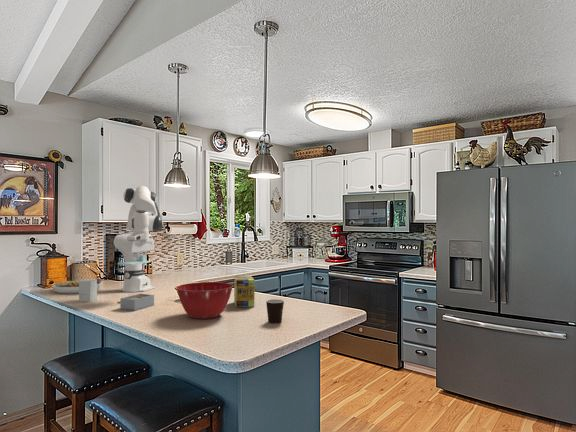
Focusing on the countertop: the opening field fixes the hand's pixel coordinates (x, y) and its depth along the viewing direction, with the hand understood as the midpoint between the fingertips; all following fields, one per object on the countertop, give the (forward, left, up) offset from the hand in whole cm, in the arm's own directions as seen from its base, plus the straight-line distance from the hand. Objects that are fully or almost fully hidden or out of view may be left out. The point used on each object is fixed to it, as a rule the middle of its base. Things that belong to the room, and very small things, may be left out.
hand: (141, 259), depth 239 cm
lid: (+6, 0, -2) cm, 6 cm away
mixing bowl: (+18, +58, -25) cm, 66 cm away
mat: (+6, 0, -25) cm, 25 cm away
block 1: (+20, +14, -24) cm, 34 cm away
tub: (+17, +13, -25) cm, 32 cm away
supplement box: (+15, -27, -25) cm, 39 cm away
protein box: (-13, +64, -25) cm, 70 cm away
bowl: (-7, -62, -25) cm, 67 cm away
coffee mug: (+13, +96, -25) cm, 100 cm away
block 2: (+14, +13, -24) cm, 31 cm away
